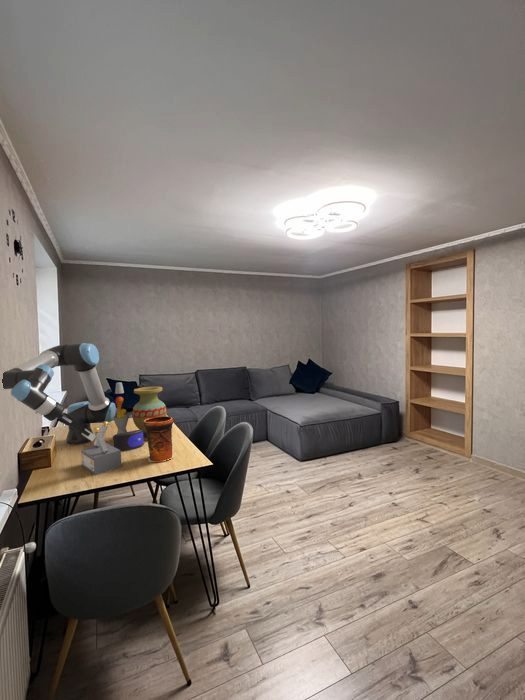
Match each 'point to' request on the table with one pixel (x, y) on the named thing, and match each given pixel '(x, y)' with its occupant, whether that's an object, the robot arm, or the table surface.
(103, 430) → the lever
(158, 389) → the vase
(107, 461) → the console
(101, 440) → the lever
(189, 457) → the table surface
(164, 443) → the vessel
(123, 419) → the lava lamp
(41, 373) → the robot arm
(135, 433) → the dark grey curved slab
